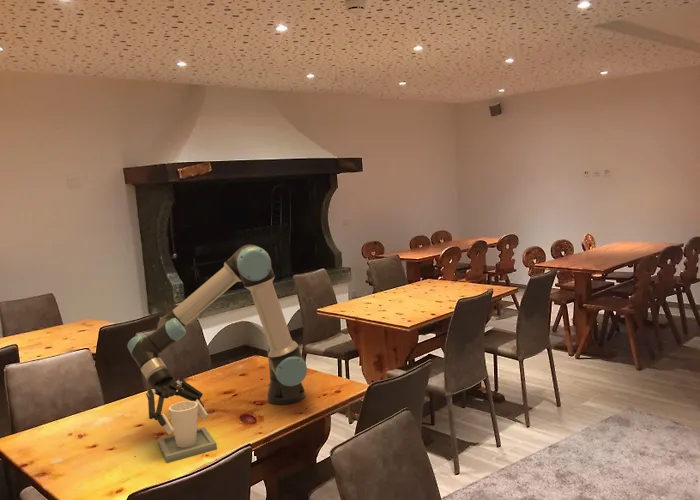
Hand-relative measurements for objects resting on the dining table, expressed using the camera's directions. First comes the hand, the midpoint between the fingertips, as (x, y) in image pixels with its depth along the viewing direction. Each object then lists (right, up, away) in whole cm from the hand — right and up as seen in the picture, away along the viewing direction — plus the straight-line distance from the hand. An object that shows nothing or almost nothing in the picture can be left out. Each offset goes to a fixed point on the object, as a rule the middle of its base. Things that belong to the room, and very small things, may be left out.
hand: (189, 424), depth 189 cm
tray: (-1, -8, +2) cm, 8 cm away
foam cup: (-1, -7, +2) cm, 8 cm away
